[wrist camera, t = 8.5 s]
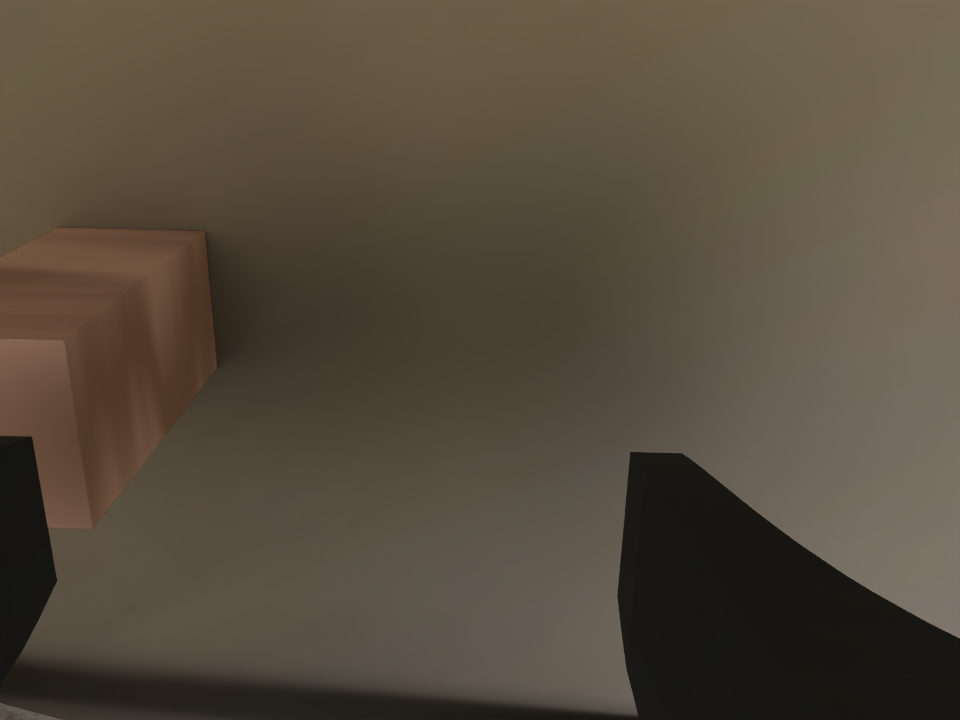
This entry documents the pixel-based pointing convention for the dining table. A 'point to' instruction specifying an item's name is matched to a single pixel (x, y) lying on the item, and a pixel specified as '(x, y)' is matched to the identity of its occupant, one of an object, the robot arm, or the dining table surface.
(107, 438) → the push blade
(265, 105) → the dining table surface
